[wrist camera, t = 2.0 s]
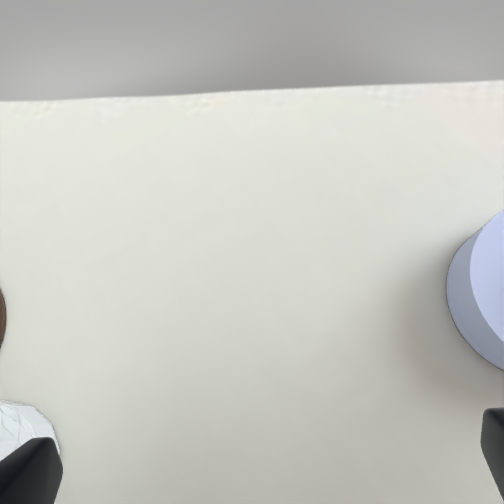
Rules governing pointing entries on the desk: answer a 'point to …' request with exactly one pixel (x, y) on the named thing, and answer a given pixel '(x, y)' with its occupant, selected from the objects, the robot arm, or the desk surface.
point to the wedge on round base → (480, 290)
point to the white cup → (21, 426)
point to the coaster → (2, 317)
